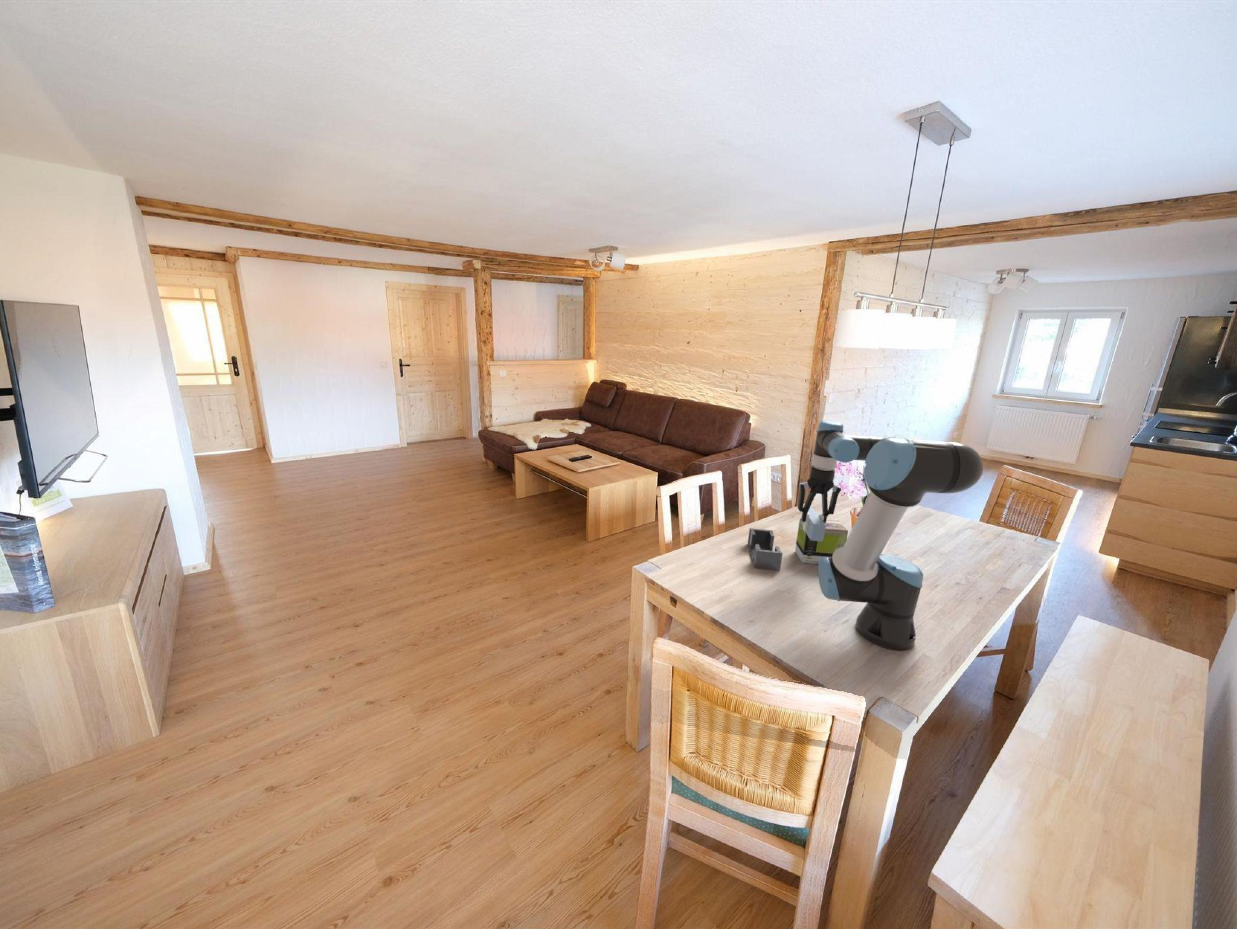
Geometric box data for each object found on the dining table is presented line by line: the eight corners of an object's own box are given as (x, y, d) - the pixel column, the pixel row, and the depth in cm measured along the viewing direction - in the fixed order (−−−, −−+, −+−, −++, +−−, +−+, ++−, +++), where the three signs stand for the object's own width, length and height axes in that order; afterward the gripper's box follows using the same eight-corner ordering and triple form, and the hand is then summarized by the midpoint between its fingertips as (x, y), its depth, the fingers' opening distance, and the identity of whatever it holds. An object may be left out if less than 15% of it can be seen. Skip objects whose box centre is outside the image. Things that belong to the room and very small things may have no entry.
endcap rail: (779, 570, 170) (782, 553, 168) (754, 568, 171) (756, 550, 169) (770, 546, 189) (772, 530, 187) (747, 544, 190) (749, 528, 188)
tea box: (833, 554, 184) (839, 520, 180) (842, 567, 175) (849, 530, 170) (793, 551, 185) (799, 516, 181) (800, 563, 176) (807, 527, 172)
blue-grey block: (822, 541, 157) (826, 525, 155) (810, 540, 157) (813, 524, 156) (811, 523, 170) (814, 508, 168) (800, 522, 171) (803, 507, 169)
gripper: (846, 466, 159) (834, 528, 166) (794, 461, 161) (784, 523, 168) (853, 472, 152) (840, 538, 159) (799, 468, 154) (788, 532, 161)
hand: (811, 530), depth 163 cm, fingers closed on blue-grey block, 4 cm apart
